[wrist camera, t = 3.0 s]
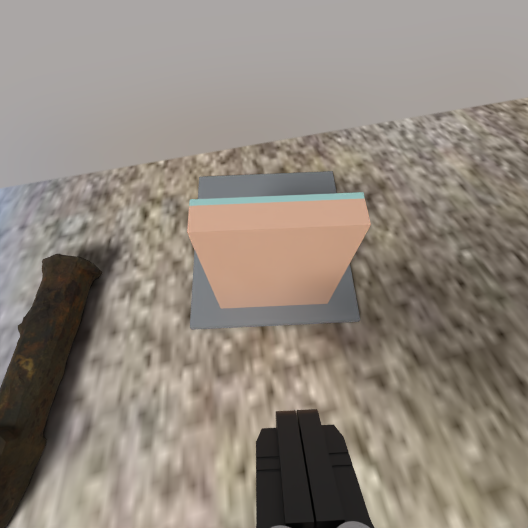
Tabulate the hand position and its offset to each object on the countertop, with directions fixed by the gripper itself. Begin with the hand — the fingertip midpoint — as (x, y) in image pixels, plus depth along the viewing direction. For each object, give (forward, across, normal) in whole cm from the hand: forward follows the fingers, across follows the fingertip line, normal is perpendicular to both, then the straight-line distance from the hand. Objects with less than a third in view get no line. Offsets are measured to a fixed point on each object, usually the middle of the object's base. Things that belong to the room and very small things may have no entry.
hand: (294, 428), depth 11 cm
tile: (+15, 0, +2) cm, 15 cm away
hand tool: (+12, +17, +7) cm, 22 cm away
